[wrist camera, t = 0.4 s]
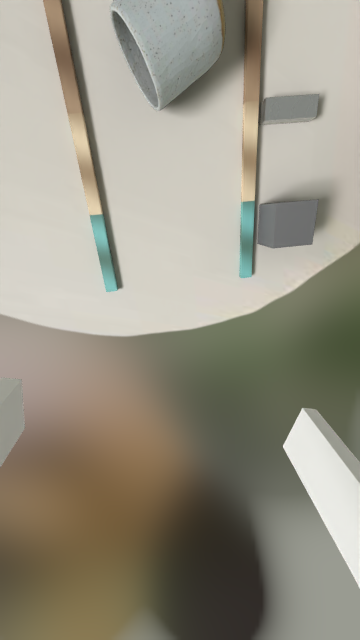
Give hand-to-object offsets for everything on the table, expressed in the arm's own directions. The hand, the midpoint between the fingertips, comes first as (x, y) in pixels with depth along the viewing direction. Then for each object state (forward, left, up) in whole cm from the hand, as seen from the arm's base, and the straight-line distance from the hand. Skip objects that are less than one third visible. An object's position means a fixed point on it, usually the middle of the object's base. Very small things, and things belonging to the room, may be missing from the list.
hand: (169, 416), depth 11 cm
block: (-6, +17, -26) cm, 31 cm away
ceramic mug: (-24, +2, -26) cm, 36 cm away
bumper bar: (-18, +17, -26) cm, 36 cm away
